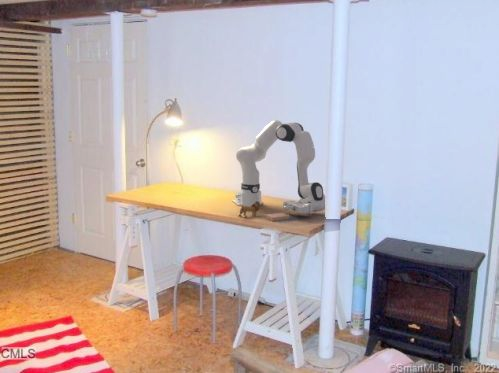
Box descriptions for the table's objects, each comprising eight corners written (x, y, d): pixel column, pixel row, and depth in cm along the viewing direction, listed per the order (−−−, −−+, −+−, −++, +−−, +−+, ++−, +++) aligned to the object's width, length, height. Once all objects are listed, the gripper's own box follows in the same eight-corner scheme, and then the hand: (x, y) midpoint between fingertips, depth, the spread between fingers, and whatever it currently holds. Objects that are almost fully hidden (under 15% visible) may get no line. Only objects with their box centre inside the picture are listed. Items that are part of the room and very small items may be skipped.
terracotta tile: (282, 216, 330) (265, 218, 324) (282, 212, 330) (265, 214, 324) (289, 219, 323) (271, 221, 318) (289, 215, 323) (272, 217, 317)
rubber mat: (264, 216, 330) (264, 216, 330) (286, 214, 337) (286, 213, 337) (279, 223, 314) (279, 222, 314) (302, 220, 322) (302, 219, 322)
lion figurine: (258, 214, 336) (258, 200, 334) (262, 216, 331) (262, 201, 330) (236, 216, 329) (236, 202, 328) (240, 218, 325) (240, 203, 323)
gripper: (295, 197, 340) (276, 199, 333) (314, 203, 322) (294, 206, 316) (294, 207, 341) (275, 209, 335) (313, 214, 323) (293, 216, 317)
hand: (284, 207), depth 325 cm, fingers closed
